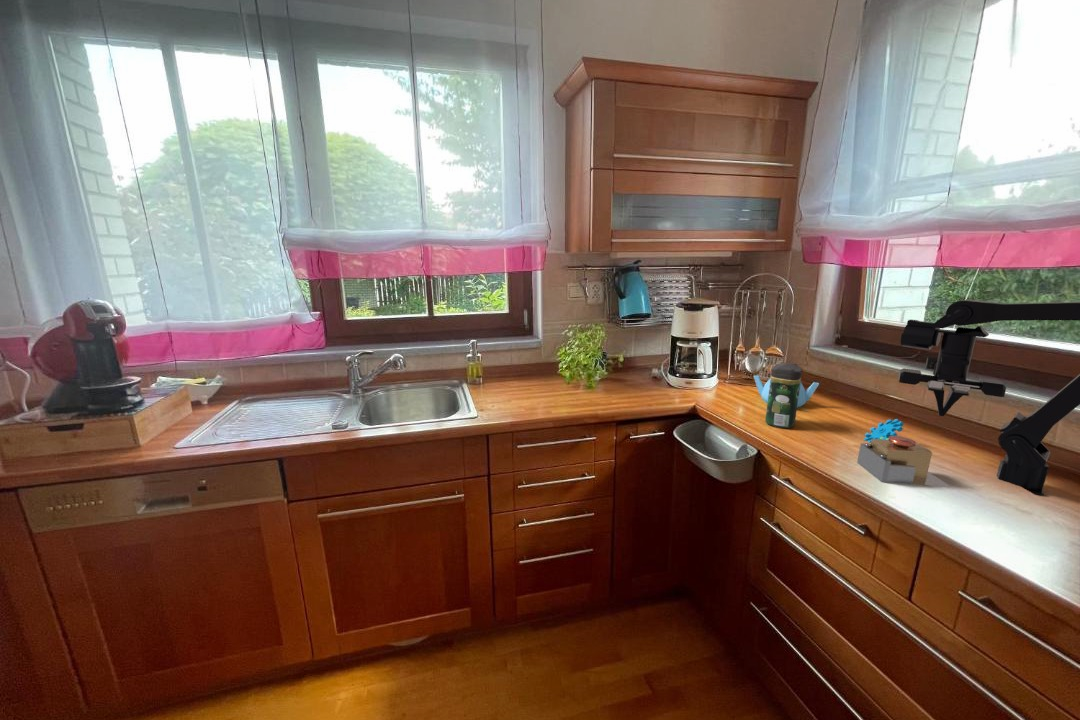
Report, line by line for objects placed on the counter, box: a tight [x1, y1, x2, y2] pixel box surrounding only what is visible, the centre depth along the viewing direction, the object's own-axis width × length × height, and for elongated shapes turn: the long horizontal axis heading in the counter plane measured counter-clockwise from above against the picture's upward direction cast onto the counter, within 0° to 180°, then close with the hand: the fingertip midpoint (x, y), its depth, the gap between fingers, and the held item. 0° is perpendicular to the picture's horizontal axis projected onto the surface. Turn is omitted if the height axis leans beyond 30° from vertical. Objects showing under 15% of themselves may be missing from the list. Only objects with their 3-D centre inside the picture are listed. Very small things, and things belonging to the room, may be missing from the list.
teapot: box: [753, 375, 820, 409], centre depth 156 cm, size 15×15×11 cm
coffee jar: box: [764, 361, 803, 429], centre depth 135 cm, size 10×8×19 cm
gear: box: [863, 418, 904, 444], centre depth 121 cm, size 11×6×10 cm
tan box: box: [870, 435, 933, 481], centre depth 103 cm, size 9×6×8 cm, turn 83°
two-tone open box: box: [856, 442, 952, 488], centre depth 103 cm, size 14×10×7 cm
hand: (941, 415), depth 110 cm, fingers closed
